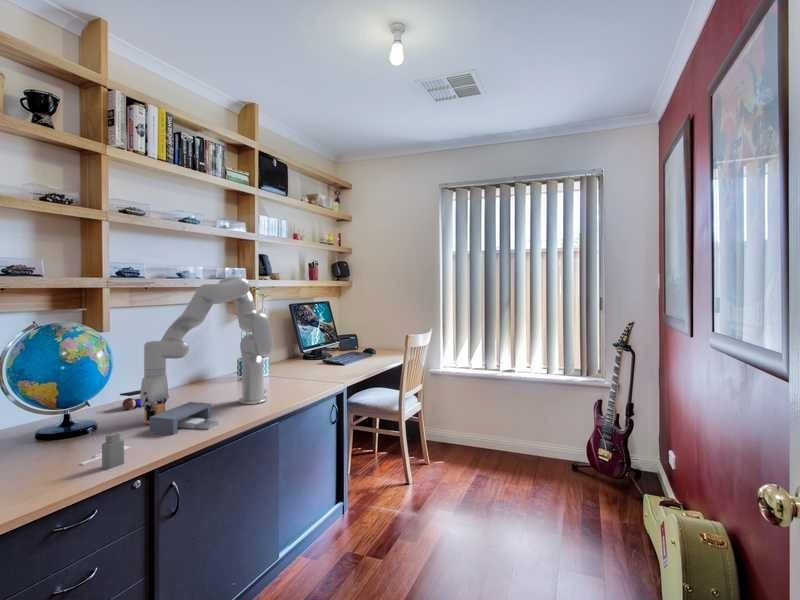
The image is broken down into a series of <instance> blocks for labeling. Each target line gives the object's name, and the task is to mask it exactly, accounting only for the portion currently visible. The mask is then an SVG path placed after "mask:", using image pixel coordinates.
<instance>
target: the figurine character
mask: <svg viewBox="0 0 800 600" xmlns="http://www.w3.org/2000/svg"><path fill="white" fill-rule="evenodd" d="M140 394H141V389H139V390H134V391H130V392H123V393H119V396H122V397H123V396H124V397H128V398H125V399H124V400H123V402H122V403H121V404H122V408H123V409H124V410H128V411H129V410H133V409H134V408H135V407H141V406H140V404H141V401H140V398H133V397H132V396H137V395H140Z"/></svg>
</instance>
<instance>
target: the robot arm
mask: <svg viewBox="0 0 800 600" xmlns="http://www.w3.org/2000/svg"><path fill="white" fill-rule="evenodd" d="M250 288H251V285H250V282H249V281H248V279H246V278H244V277H241V276H239V277H238V276H228V277H224V278H221V279H220V280H219V282H218V283H215V284H214V283H205V284H201V285H199V287H197V290H195V292H194V293H193V295H192V298H191V299H190V301H189V302H188V304H187V306H186V308H185V309H184V310H183V312H182V314H181V315H179V316H178V317H177V318H176V320H174V321H173V322H172V323H171V325H169V327H168V328H167V330H166V331H165V333H164V335H163V336H162V337H161V339H160V340H151V341H147V342H145V343H144V345H143V365H144V366H143V373H144V374H143V376H144V377H142V380H141V384H140V390H141V394H139V395H140V398H139V399H140V401H141V404H140V406H139V407H141V408H145V410H146V411H147V420H148V421H150V417H151V416H154V415H155V410H153V409H154V403H160V404H165V405H166V402H167V401H168V399H169V398H170V395H169V384H168V376H167V359H181V358H184V357H186V356H187V354H188V353H189V350H190V349H189V348H190V347H189V345H188V343H187V342H186V341H184V340H183V338H184V337H185V336H186V335H187V333H188V332H190V331H192V329H194V328H196V327H198V326H200V325H201V324H202V323H204V321H205V319H206V318H207V315H208V313H209V312H210V310H211V309H212V307H213V305H220V304H223V303H228V302H230V301H233V303H234V305H235V309H236V314H237V320H238V325H239V328H240V329H241V330H242V331H243V332H246V333H248V334H245V335H244V336H242V338H241V340H240V343H239V349H240V355H241V365H242V367H241V377H242V379H241V381H242V382H241V389H242V390H241V392H242V393H241V397H240V398H239V399H238V403H239V404H243V405H257V403H258V404H262V402H263V403H266V402H267V400H268V397H267V396H265V393H268V389H267V388H264V368H265V367H264V359H263V357H267V356H269V355H270V354H271V353H272V352H273V350H274V347H275V346H274V345H275V344H274V337H273V331H272V325H271V321H270V319H269V317H268V315H267V314H265V313H264V312H260V311H257V307H256V302H255V300H254V296H253V294H252V292H250ZM149 404H151V406H149Z"/></svg>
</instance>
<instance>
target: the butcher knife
mask: <svg viewBox="0 0 800 600" xmlns="http://www.w3.org/2000/svg"><path fill="white" fill-rule="evenodd" d="M129 449H131V447H130V446H128V445H124V451H127V450H129ZM93 457H94V458H93ZM99 460H102V452H101V453H98V454H96V455H93V456H92V459H91V458H90V459H88V460H85V461H82V462H80V463H79V465H82V466H85V465H88V464H91V463H93V462H94V463H95V462H97V461H99Z"/></svg>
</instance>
